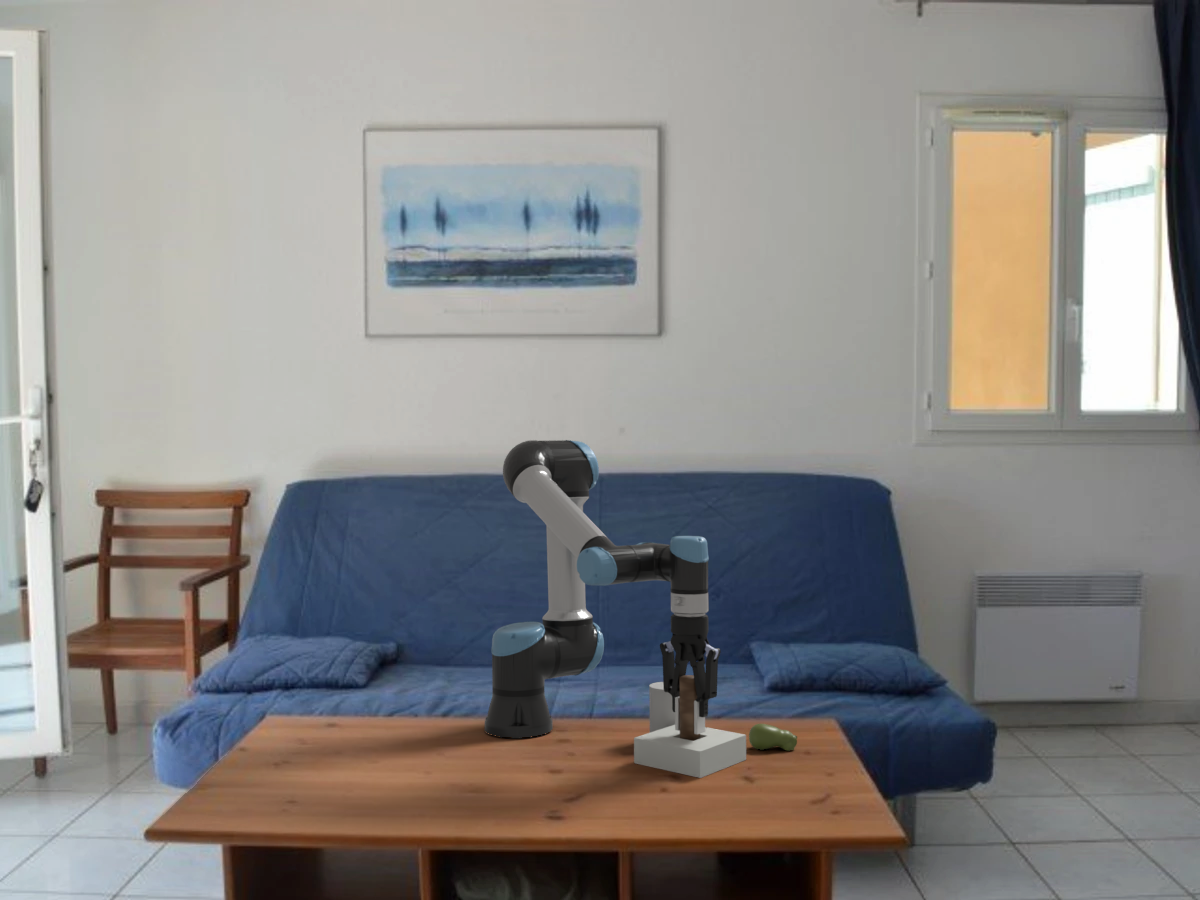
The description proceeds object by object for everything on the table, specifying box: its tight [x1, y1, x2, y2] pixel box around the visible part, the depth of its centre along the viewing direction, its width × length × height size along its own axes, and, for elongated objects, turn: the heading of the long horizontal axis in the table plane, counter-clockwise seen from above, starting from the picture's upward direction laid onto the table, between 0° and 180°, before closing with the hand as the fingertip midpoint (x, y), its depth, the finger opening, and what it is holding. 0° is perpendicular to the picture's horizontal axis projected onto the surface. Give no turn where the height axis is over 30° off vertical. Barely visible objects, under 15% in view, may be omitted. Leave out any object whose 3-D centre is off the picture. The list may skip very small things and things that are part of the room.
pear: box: [748, 723, 798, 752], centre depth 227 cm, size 6×5×10 cm
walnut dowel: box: [680, 674, 700, 741], centre depth 218 cm, size 4×4×14 cm
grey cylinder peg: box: [648, 681, 675, 733], centre depth 233 cm, size 8×8×12 cm
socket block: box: [633, 725, 747, 779], centre depth 218 cm, size 16×16×5 cm
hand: (690, 730), depth 218 cm, fingers closed on walnut dowel, 4 cm apart
